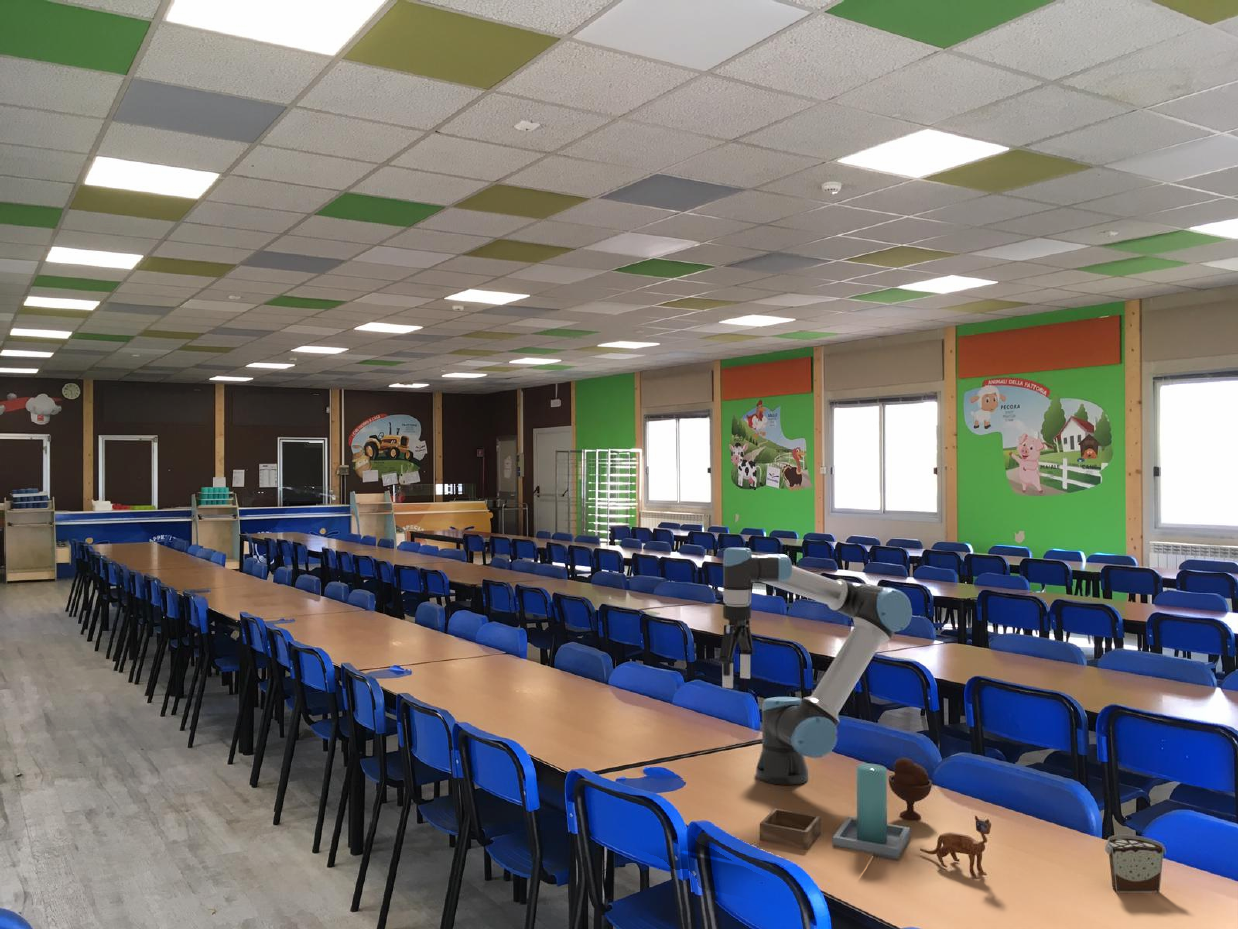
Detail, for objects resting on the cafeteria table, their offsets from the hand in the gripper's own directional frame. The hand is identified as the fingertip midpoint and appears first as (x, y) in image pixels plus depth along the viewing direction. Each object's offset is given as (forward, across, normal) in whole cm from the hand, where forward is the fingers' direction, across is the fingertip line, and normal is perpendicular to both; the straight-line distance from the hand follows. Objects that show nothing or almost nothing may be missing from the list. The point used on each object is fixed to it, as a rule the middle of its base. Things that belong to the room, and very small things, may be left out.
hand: (736, 682), depth 248 cm
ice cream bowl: (+32, -10, +44) cm, 55 cm away
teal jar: (+31, +12, +39) cm, 51 cm away
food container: (+32, +9, +93) cm, 99 cm away
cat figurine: (+32, +17, +58) cm, 69 cm away
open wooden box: (+32, +19, +21) cm, 43 cm away
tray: (+32, +12, +39) cm, 52 cm away
